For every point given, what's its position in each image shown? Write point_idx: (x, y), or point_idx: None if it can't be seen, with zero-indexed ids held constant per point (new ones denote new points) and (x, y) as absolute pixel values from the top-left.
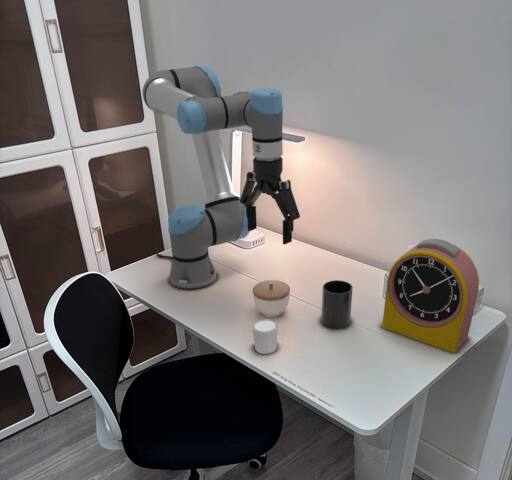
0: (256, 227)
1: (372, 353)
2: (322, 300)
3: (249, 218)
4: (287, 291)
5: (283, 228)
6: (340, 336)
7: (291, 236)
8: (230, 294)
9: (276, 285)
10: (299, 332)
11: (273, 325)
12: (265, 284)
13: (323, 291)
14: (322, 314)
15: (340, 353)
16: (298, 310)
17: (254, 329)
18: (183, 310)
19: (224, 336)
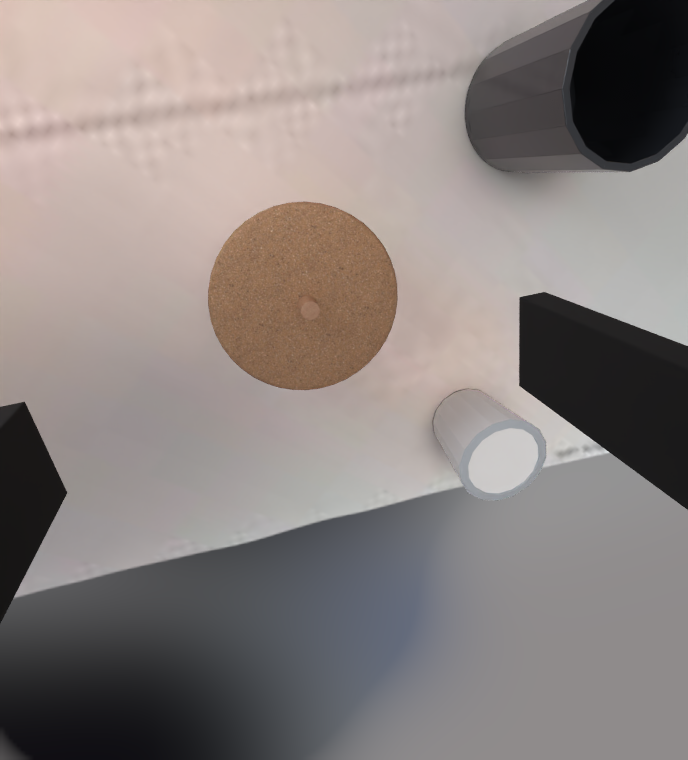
0: (21, 409)
1: None
2: (541, 159)
3: (6, 600)
4: (384, 257)
5: (636, 460)
6: (593, 175)
7: (576, 308)
8: (46, 342)
9: (301, 267)
10: (474, 281)
11: (522, 437)
12: (256, 307)
13: (585, 163)
14: (511, 165)
15: (645, 249)
16: (354, 176)
17: (495, 498)
18: (85, 539)
19: (330, 489)
